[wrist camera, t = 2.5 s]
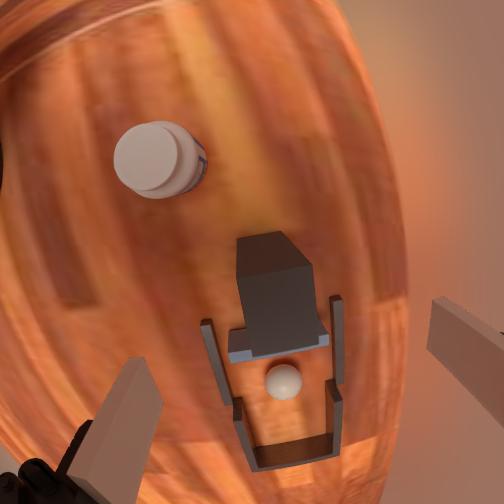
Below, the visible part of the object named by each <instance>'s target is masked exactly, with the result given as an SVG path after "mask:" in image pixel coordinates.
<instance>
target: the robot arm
mask: <svg viewBox="0 0 504 504" xmlns="http://www.w3.org/2000/svg"><path fill="white" fill-rule="evenodd" d="M1 177H2V151H1V144H0V186H1ZM427 350H428V351H429V352H430V353H431V354H432V355H433V356H435V357H436V359H438V360H439V361H440V362H441V363H442V364H443V365H444V366H445V367H446V368H447V369H448V370H449V371H450V372H451V373H452V374H453V375H454V376H455V377H456V378H457V379H458V381H459V382H460V383H461V384H462V385H463V386H464V387H465V388H466V389H467V390H468V391H469V392H470V393H471V394H472V395H473V396H474V397H475V398H476V399H477V400H478V401H479V402H480V403H481V404H482V406H483V407H484V408H485V409H486V410H487V411H488V412H489V413H490V414H491V415H492V416H493V417H494V419H495V420H496V421H497V422H498V423H499V424H500V425H501V426H502V427H503V428H504V333H502V332H498V331H497V330H495V329H494V328H492V327H491V326H490V325H488V324H486V323H485V322H484V321H482V320H481V319H479V318H477V317H476V316H474V315H473V314H471V313H470V312H468V311H467V310H465V309H463V308H462V307H460V306H459V305H457V304H456V303H454V302H452V301H451V300H449V299H448V298H446V297H445V296H443V297H440V298H437V299H434V300H432V309H431V318H430V327H429V335H428V341H427ZM163 404H164V401H163V399H162V397H161V395H160V393H159V391H158V389H157V386H156V384H155V382H154V380H153V377H152V375H151V373H150V370H149V368H148V366H147V363H146V361H145V358H144V357H133V358H128V360H127V362H126V363H125V365H124V367H123V368H122V370H121V372H120V374H119V375H118V377H117V379H116V381H115V382H114V384H113V386H112V388H111V389H110V391H109V393H108V395H107V397H106V398H105V400H104V402H103V404H102V406H101V407H100V409H99V411H98V413H97V415H96V417H95V418H94V420H87V421H86V422H85V423H84V424H83V425H81V426H80V427H79V429H78V431H77V432H76V434H75V436H74V439H73V440H72V441H71V443H70V447H68V449H67V451H66V453H65V454H64V456H63V458H62V460H61V462H60V464H59V466H58V468H57V470H56V472H54V471H53V470H52V469H51V468H50V467H49V465H48V464H47V463H46V462H44V461H43V460H42V459H38V458H33V459H29V460H27V461H25V462H24V463H23V464H22V465H21V467H20V469H19V471H18V477H17V476H16V475H15V474H13V473H11V472H5V473H3V474H1V475H0V504H135V503H136V499H137V495H138V491H139V487H140V484H141V480H142V476H143V473H144V469H145V465H146V462H147V458H148V455H149V451H150V448H151V444H152V441H153V437H154V434H155V431H156V427H157V424H158V421H159V417H160V414H161V411H162V408H163ZM22 481H23V482H22Z"/></svg>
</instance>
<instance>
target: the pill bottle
mask: <svg viewBox="0 0 504 504" xmlns="http://www.w3.org/2000/svg"><path fill="white" fill-rule="evenodd" d="M114 168H115V171H116V174H117V176H118V177H119V179H120V180H121V181H122V182H123V183H124V184H125V185H126V186H128V187H129V188H131V189H132V190H133V191H135V192H136V193H137V194H139V195H141V196H143V197H146V198H151V199H162V198H168V197H172V196H175V195H179V194H183V193H186V192H189V191H191V190H192V189H194V188H195V187H197V186H198V184H199V183H200V182H201V181H202V179H203V178H204V175H205V173H206V169H207V157H206V153H205V151H204V149H203V147H202V146H201V144H200V143H199V142H198V141H197V140H196V139H195V138H194V137H193V136H192V135H191V134H190V133H189V132H188V131H187V130H186V129H184V128H183V127H182V126H180V125H178V124H176V123H174V122H170V121H153V122H150V123H144V124H139V125H136V126H134V127H132V128H131V129H129V130H128V131H127V132H126V133H125V134H124V135H123V136H122V137H121V138H120V140H119V142H118V143H117V146H116V148H115V151H114Z"/></svg>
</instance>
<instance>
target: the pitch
mask: <svg viewBox="0 0 504 504" xmlns="http://www.w3.org/2000/svg"><path fill="white" fill-rule="evenodd" d="M329 298H330V312H331V330H332V354H333V379H331V380H327V381H325V395H326V434H323V435H319V436H315V437H311V438H306V439H302V440H297V441H292V442H286V443H281V444H275V445H269V446H262V447H256V444H255V441H254V438H253V434H252V431H251V428H250V424H249V421H248V418H247V414H246V411H245V407H244V404H243V400H242V397H238V398H233V396H232V392H231V389H230V386H229V382H228V379H227V375H226V372H225V369H224V365H223V361H222V358H221V354H220V351H219V347H218V343H217V340H216V336H215V332H214V328H213V325H212V321H211V319H208V320H201V324H200V328H201V332H202V335H203V339H204V342H205V345H206V349H207V352H208V355H209V359H210V362H211V365H212V368H213V372H214V375H215V378H216V381H217V384H218V387H219V390H220V393H221V396H222V399H223V402H224V405H225V406H227V405H233V422H234V425H235V428H236V431H237V434H238V437H239V439H240V442H241V445H242V447H243V450H244V453H245V455H246V458H247V461H248V463H249V466H250V468H251V471H252V472H260V471H268V470H274V469H281V468H286V467H292V466H297V465H302V464H307V463H311V462H316V461H320V460H324V459H328V458H332V457H335V456H339V455H340V445H341V431H342V413H343V399H342V397H341V395H340V393H339V391H338V388H337V386H336V385H338V384H342V383H344V319H343V299H342V298H341V297H340V296H339V295H337V296H333V297H329Z"/></svg>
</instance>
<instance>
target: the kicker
mask: <svg viewBox="0 0 504 504" xmlns="http://www.w3.org/2000/svg"><path fill="white" fill-rule="evenodd" d="M236 279H237V284H238V289H239V294H240V299H241V304H242V309H243V314H244V319H245V324H246V328H245V329H239V330H233V331H229V338H228V356H229V359H230V363H231V364H232V363H239V362H245V361H252V360H258V359H264V358H269V357H275V356H280V355H285V354H290V353H295V352H300V351H305V350H309V349H314V348H318V347H322V346H327V345H329V334H328V332H327V330H326V329H325V327H324V325H323V324H322V322H321V320H320V318H319V317H318V315H317V309H316V298H315V287H314V278H313V268H312V264H311V263H310V262H309V261H308V260H307V259H306V258H305V256H304V255H303V254H302V253H301V252H300V251H299V250H298V249H297V248H296V247H295V246H294V245H293V243H292V242H291V241H290V240H289V239H288V238H287V237H286V236H285V235H284V234H283V233H282V232H281V231H278V232H272V233H267V234H261V235H255V236H250V237H244V238H238V239H237V264H236Z"/></svg>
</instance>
